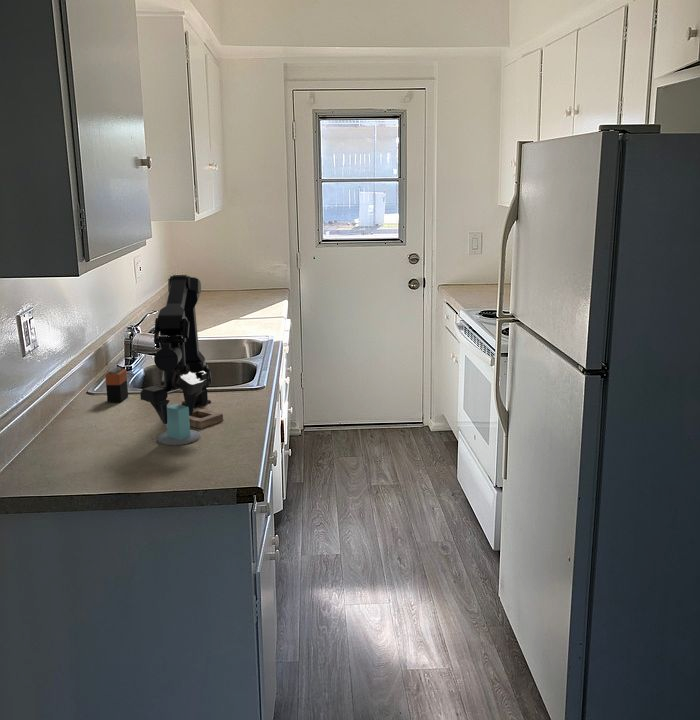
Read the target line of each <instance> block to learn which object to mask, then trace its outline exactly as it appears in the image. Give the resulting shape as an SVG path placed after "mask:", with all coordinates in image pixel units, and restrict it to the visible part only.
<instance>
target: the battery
mask: <svg viewBox="0 0 700 720" xmlns="http://www.w3.org/2000/svg"><path fill="white" fill-rule="evenodd" d="M127 375H128V374H127V369H125V368H121V366H117V367H115V368H112V369H110V370H109V371H108V372H107V373H105V375H104V376H105V386H106V399H107V403H113V404H114V403H115V404H116V403H119V404H120V403H122V402H123V401H125V400H126V399H127V398H128V397H129V389H128V376H127Z"/></svg>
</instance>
